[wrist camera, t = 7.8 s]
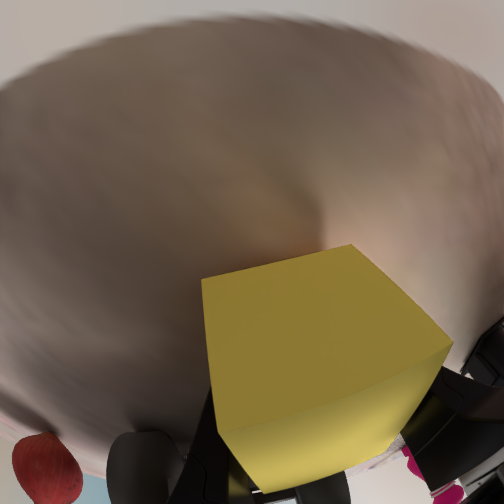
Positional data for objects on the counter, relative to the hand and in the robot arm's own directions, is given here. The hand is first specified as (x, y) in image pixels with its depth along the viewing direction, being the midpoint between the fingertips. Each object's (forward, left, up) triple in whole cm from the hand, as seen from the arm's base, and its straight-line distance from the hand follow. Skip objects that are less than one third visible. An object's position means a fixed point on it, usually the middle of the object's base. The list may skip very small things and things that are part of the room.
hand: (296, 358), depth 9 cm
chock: (0, 0, -1) cm, 1 cm away
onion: (+19, +8, -2) cm, 20 cm away
